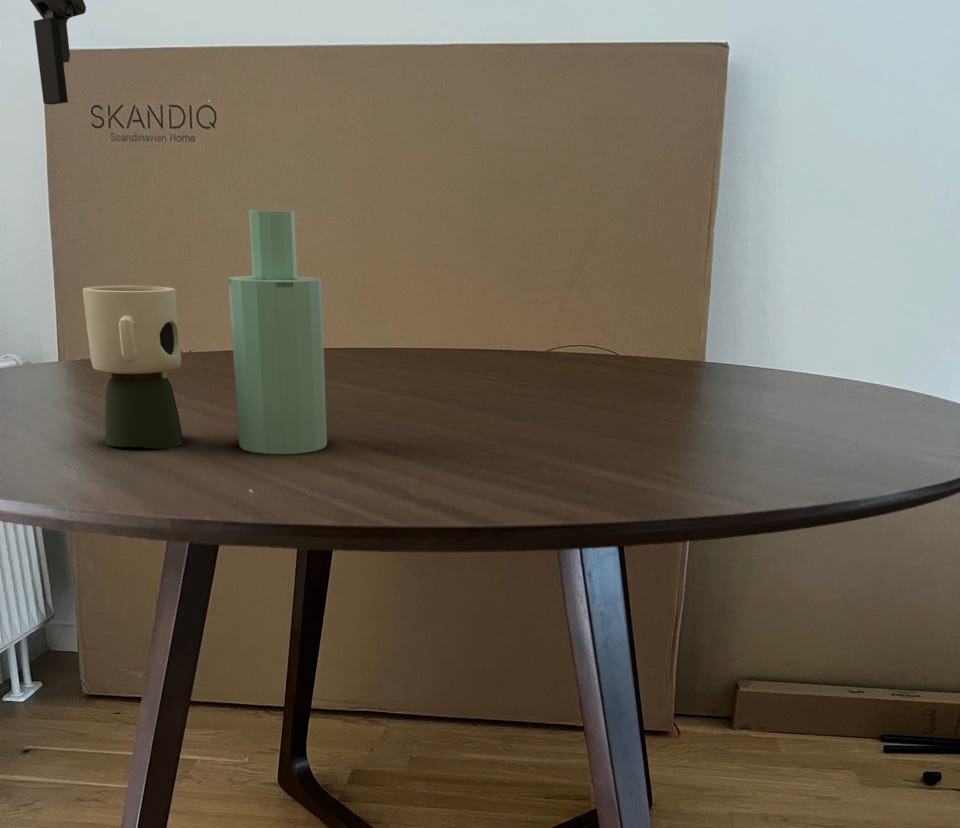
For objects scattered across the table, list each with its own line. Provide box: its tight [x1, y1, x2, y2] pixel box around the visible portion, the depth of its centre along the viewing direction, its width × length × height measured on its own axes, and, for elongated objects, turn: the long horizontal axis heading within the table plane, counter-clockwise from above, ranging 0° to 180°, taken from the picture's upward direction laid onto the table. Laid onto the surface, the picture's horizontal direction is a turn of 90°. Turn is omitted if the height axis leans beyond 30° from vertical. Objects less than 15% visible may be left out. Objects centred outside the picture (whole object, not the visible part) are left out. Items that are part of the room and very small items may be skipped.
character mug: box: [82, 284, 184, 450], centre depth 85 cm, size 11×7×13 cm, turn 12°
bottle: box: [227, 209, 328, 455], centre depth 84 cm, size 7×7×19 cm
